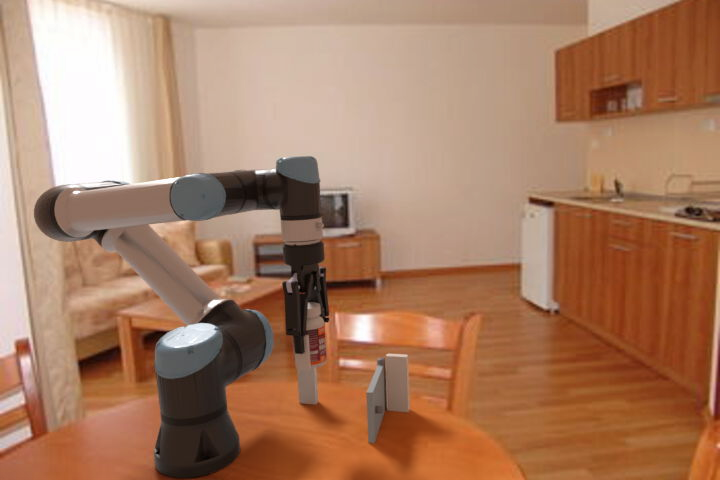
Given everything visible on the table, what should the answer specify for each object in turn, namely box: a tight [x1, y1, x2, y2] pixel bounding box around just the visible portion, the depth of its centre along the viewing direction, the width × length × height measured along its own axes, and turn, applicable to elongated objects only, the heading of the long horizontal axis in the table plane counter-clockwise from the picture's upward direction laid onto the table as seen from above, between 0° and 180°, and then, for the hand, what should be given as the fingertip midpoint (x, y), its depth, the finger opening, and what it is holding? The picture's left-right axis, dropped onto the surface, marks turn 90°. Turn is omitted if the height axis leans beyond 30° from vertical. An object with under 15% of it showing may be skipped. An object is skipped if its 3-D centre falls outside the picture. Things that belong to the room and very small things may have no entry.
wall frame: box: [296, 353, 411, 413], centre depth 121 cm, size 24×2×12 cm, turn 75°
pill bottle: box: [292, 302, 328, 369], centre depth 106 cm, size 6×6×11 cm
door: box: [365, 357, 388, 444], centre depth 112 cm, size 15×3×11 cm, turn 169°
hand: (311, 362), depth 107 cm, fingers closed on pill bottle, 6 cm apart
